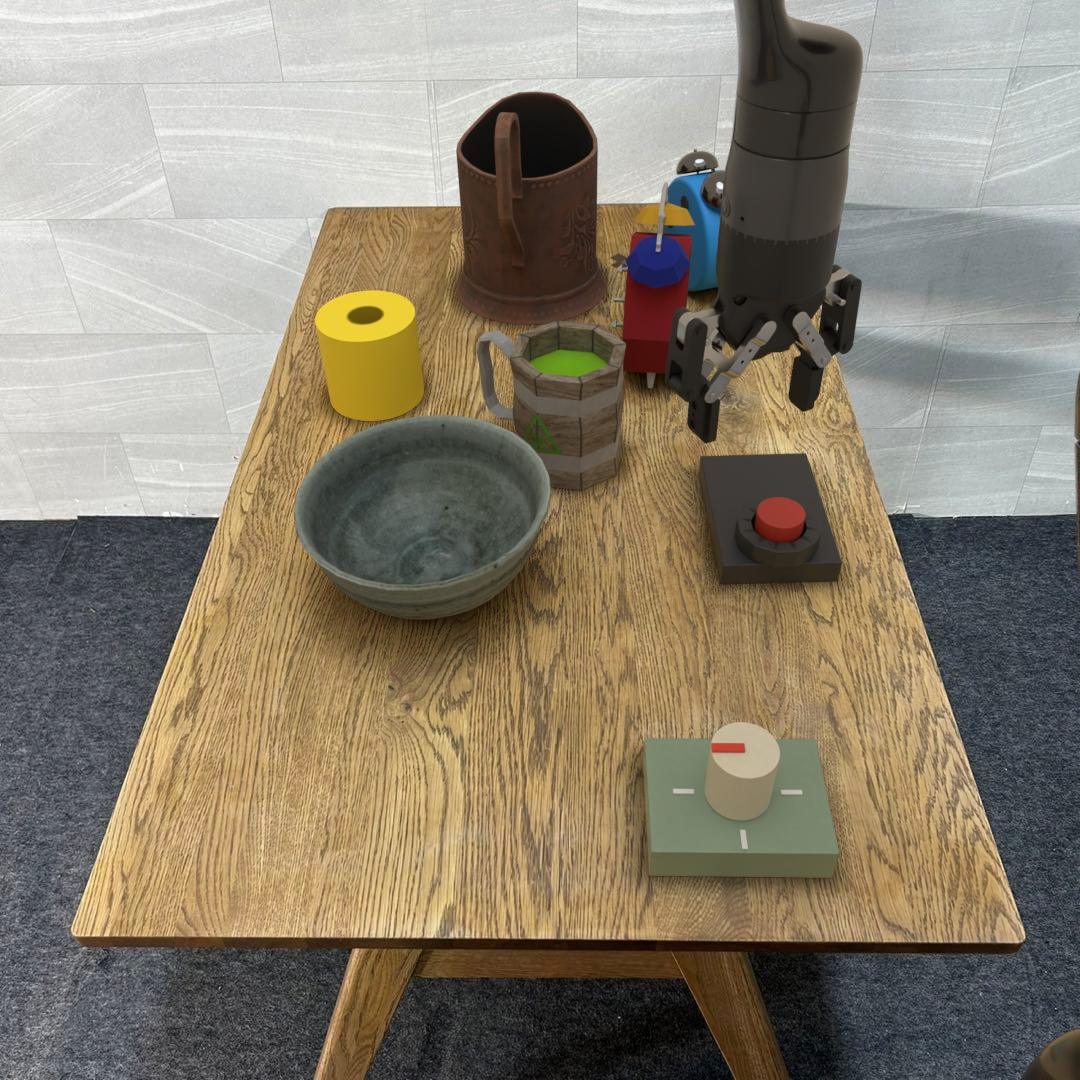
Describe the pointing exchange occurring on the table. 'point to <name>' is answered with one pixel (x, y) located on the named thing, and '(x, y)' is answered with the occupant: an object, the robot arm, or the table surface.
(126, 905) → the table surface
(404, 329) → the yellow toilet paper roll
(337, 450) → the bowl
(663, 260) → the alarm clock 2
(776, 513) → the button
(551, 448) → the mug
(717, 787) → the dial knob
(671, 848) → the dial panel
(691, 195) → the alarm clock
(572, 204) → the tea glass holder
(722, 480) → the button box
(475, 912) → the table surface
